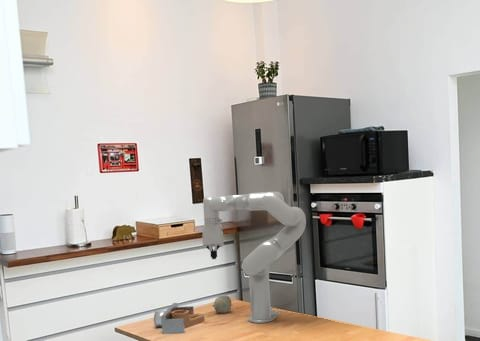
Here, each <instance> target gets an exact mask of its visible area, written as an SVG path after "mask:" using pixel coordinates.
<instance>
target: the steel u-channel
mask: <svg viewBox="0 0 480 341" xmlns="http://www.w3.org/2000/svg"><path fill="white" fill-rule="evenodd" d="M176 310H188V311H189V315H191V314H195V308H194V305H191V306H178V302H173V303H172V304H171V305H170V306H169V307H168V308H167V309H166V310H158V311H155V312H154V315H153V324H154V327H156V328H157V327H159V328H160V327H161V334H163V335H164V334H185V329H186V328H184V318H183V319H172V317H171V312H173V311H176Z"/></svg>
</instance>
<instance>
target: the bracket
mask: <svg viewBox="0 0 480 341" xmlns="http://www.w3.org/2000/svg"><path fill="white" fill-rule="evenodd" d="M171 317H172V319H183V318H184V329H186V328H190V327H193V326H197V325H199V324H202V323H204V322H205V314H203V313H194V314H191V315H189V311H188V310H176V311H173V312H171Z"/></svg>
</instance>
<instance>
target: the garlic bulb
mask: <svg viewBox="0 0 480 341" xmlns="http://www.w3.org/2000/svg"><path fill="white" fill-rule="evenodd" d="M212 307H213V308H214V311H215V312H216V313H217V314H218V313H219V314H227V313H228V312H230V311H232V299H231V298H230V296H229V295H226V294H224V295H219V296H218V297H216V298H215V300H214V302H213V304H212Z"/></svg>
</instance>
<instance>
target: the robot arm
mask: <svg viewBox="0 0 480 341" xmlns="http://www.w3.org/2000/svg"><path fill="white" fill-rule="evenodd" d="M202 203H203V204H202V205H203V208H202V209H203V220H204V224H203V225H202V226H203V227H202V248H204V249H207V250H209V252H210V258H211V260H217V258H218V250H219V249H220V248H223V247H224V246H225V243H224V241H225V240H224V231H223V230H224V229H223V226H222V224H221V222H222V223H223V218H220V212H229V211H237V210H238V211H240V210H241V211H242V210H247V211H250V212H251V211H267V213H269V215H271V217H274V219H276V220H277V221H278V222H280V223H281V224H282V225H283V226H284V227H283V228H282V229H281V230H279V231H278V232H277V233H276V234H275V235H274V236H273V237H272V238H270V239H267V240H264V241H263V242H261V243H260V244H259V245H258V246H257V247H256V248H255V249H253V250H252V251H251V252H250V253H249V254H248V255H247V256H246V257H245V258H243V260H242V264H241V269H242V271H243V273H244V275H246V276H247V277H249V278H248V284H249V299H250V301H249V302H250V314H251V315H250V316H248V318H247V319H248V322H250V323H255V324H265V323H270V322H273V321H274V320H276V319H275V316H278V317H279V316H281V311H279V310H273V309H272V308H271V294H270V293H271V292H270V265H271V264H272V263H273V262H275V260H277V259H279V258H280V257H281V256H282V255H284V253H285V252H286V251H287V250H288V249H289V248H290V247H292V245H294V243H296V242H297V241H298V240H299V239H300V238H301V236H302V235H303V233H304V232H305V230H306V225H307V218H306V214H305V212H304V211H303V209H302V208H301V207H298V206H290V205H289V204H287V203H286V202H285V198H284V194H282V193H280V192H279V191H263V192H249V193H247V194H245V193H244V194H232V195H230V194H229V195H221V196H220V195H219V196H217V197H216V196H210V197H204V198H203V199H202ZM213 246H214V248H213Z"/></svg>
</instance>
